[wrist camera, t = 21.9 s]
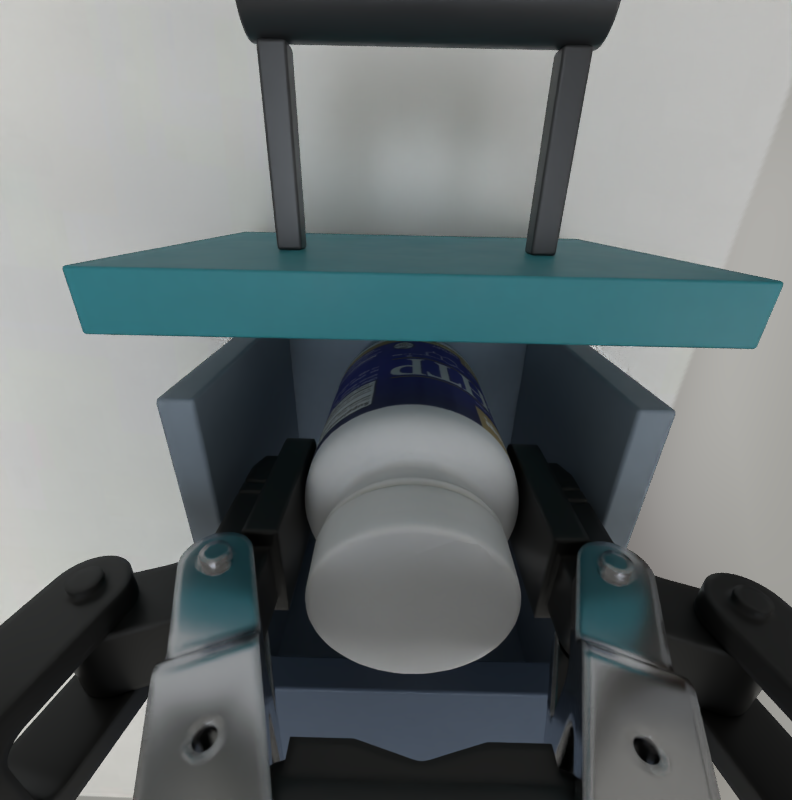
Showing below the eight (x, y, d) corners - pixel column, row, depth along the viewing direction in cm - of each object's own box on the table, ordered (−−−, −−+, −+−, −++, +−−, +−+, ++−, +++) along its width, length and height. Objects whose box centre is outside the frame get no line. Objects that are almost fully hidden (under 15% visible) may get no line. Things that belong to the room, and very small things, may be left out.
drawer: (219, 45, 12) (-106, -235, 4) (615, 54, 12) (1001, -214, 4) (284, 532, 21) (214, 732, 13) (517, 538, 21) (587, 741, 13)
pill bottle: (507, 382, 15) (627, 588, 7) (425, 477, 17) (445, 723, 9) (388, 301, 14) (367, 440, 6) (313, 414, 16) (221, 635, 8)
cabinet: (268, 453, 20) (146, 686, 10) (537, 459, 20) (664, 698, 10) (296, 651, 27) (238, 902, 17) (496, 656, 27) (550, 910, 17)
